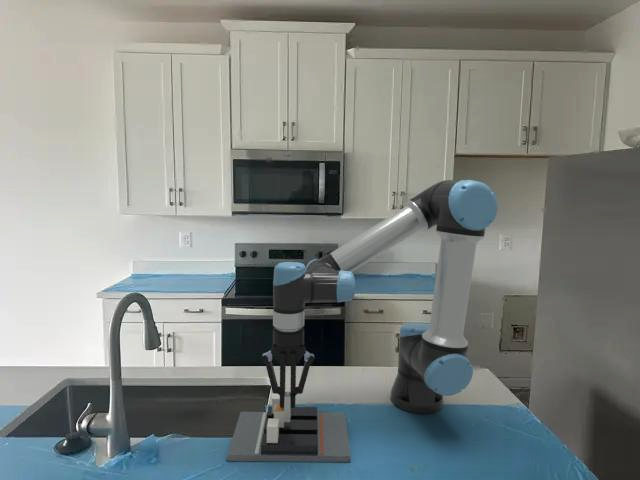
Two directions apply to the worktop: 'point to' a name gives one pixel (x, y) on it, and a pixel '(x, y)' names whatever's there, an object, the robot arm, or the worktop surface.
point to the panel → (251, 435)
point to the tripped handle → (279, 415)
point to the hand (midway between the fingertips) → (287, 419)
